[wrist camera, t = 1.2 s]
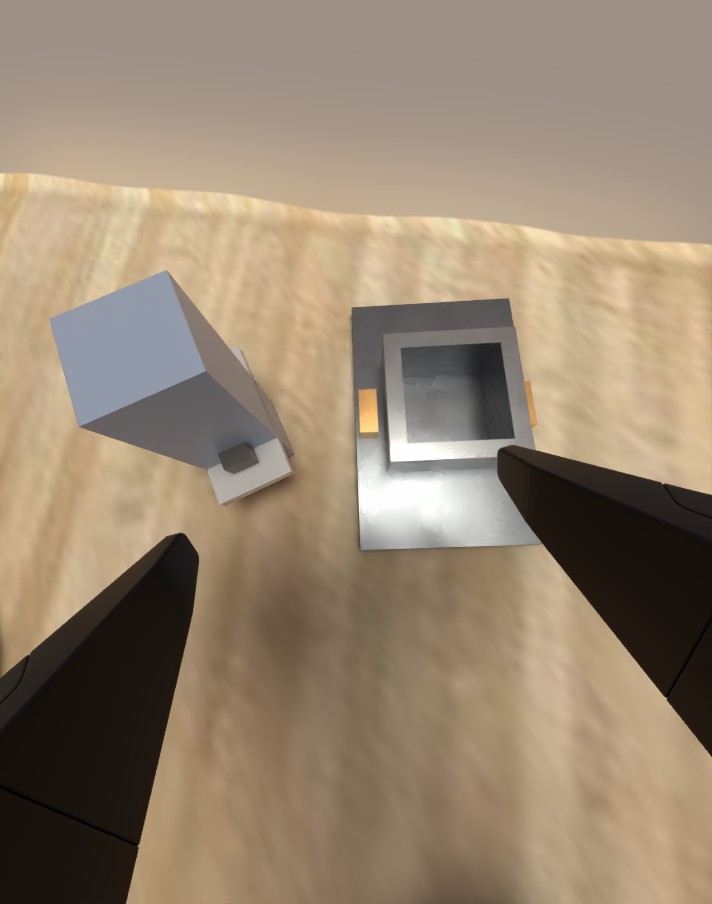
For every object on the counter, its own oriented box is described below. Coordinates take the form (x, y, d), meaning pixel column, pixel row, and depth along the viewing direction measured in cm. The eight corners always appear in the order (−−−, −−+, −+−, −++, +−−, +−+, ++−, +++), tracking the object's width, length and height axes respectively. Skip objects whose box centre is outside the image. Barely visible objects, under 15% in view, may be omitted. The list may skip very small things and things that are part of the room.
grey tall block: (306, 481, 23) (228, 428, 10) (248, 508, 23) (95, 488, 10) (261, 377, 25) (149, 225, 12) (207, 401, 25) (36, 271, 12)
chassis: (540, 543, 21) (591, 548, 17) (361, 549, 22) (358, 556, 17) (503, 307, 25) (535, 255, 20) (352, 315, 26) (348, 267, 21)
